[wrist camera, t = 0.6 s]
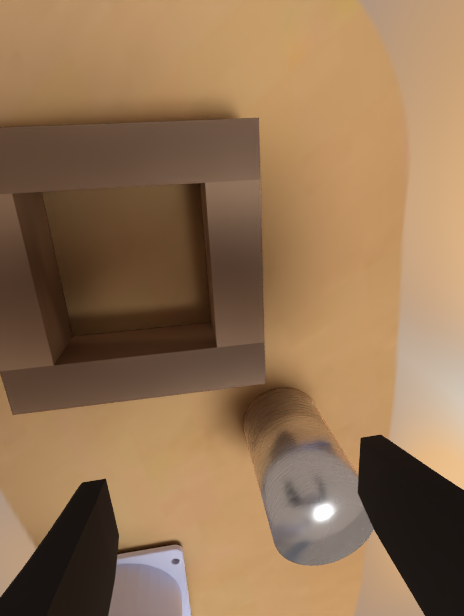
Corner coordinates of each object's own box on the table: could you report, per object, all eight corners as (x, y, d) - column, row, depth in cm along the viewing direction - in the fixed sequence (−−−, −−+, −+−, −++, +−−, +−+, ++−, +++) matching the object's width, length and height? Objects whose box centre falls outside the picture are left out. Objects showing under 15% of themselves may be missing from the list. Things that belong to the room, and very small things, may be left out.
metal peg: (315, 445, 23) (372, 555, 16) (244, 456, 22) (273, 573, 15) (317, 383, 21) (381, 475, 15) (241, 392, 21) (272, 492, 14)
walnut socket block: (252, 354, 20) (265, 383, 17) (37, 379, 19) (12, 414, 16) (244, 128, 16) (258, 117, 13) (-26, 139, 15) (-73, 129, 12)
